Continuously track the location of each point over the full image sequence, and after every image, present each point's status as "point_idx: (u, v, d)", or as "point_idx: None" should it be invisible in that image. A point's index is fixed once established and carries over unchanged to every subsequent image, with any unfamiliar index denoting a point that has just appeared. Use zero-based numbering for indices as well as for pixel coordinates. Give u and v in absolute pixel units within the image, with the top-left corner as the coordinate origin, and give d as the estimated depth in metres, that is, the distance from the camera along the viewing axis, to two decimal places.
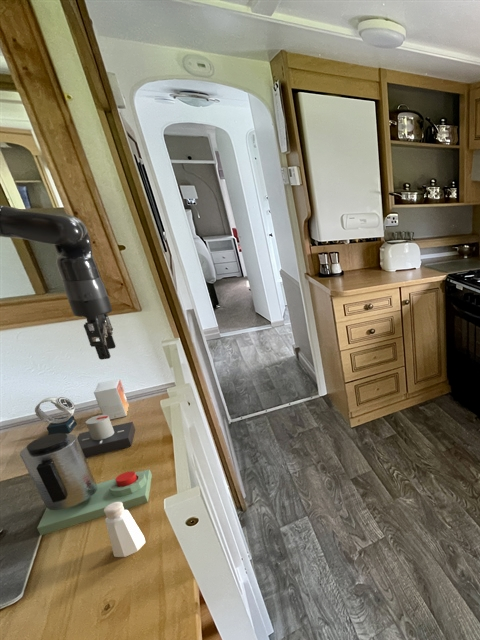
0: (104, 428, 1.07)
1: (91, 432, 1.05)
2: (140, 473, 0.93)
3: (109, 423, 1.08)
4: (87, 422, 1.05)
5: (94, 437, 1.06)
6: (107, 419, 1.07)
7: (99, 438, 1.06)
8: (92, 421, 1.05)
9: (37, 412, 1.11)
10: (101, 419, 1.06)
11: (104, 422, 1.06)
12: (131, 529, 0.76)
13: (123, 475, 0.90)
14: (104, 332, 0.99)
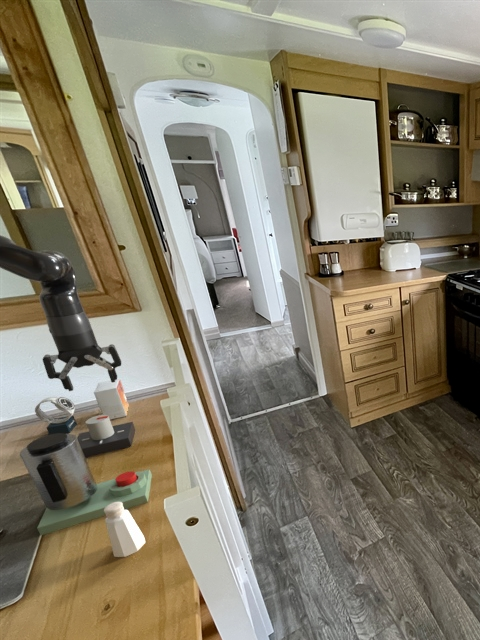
0: (104, 428, 1.07)
1: (91, 432, 1.05)
2: (140, 473, 0.93)
3: (109, 423, 1.08)
4: (87, 422, 1.05)
5: (94, 437, 1.06)
6: (107, 419, 1.07)
7: (99, 438, 1.06)
8: (92, 421, 1.05)
9: (37, 412, 1.11)
10: (101, 419, 1.06)
11: (104, 422, 1.06)
12: (131, 529, 0.76)
13: (123, 475, 0.90)
14: (64, 367, 0.98)
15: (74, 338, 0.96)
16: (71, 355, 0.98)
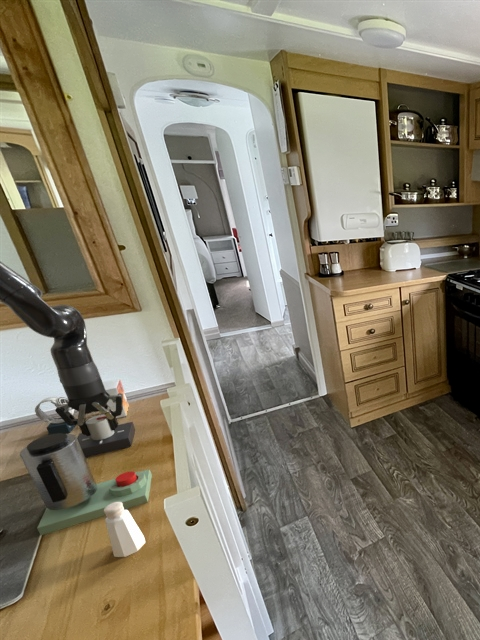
0: (104, 428, 1.07)
1: (91, 432, 1.05)
2: (140, 473, 0.93)
3: (109, 423, 1.08)
4: (87, 422, 1.05)
5: (94, 437, 1.06)
6: (107, 419, 1.07)
7: (99, 438, 1.06)
8: (92, 421, 1.05)
9: (37, 412, 1.11)
10: (101, 419, 1.06)
11: (104, 422, 1.06)
12: (131, 529, 0.76)
13: (123, 475, 0.90)
14: (78, 415, 1.03)
15: (81, 388, 1.00)
16: (80, 402, 1.03)
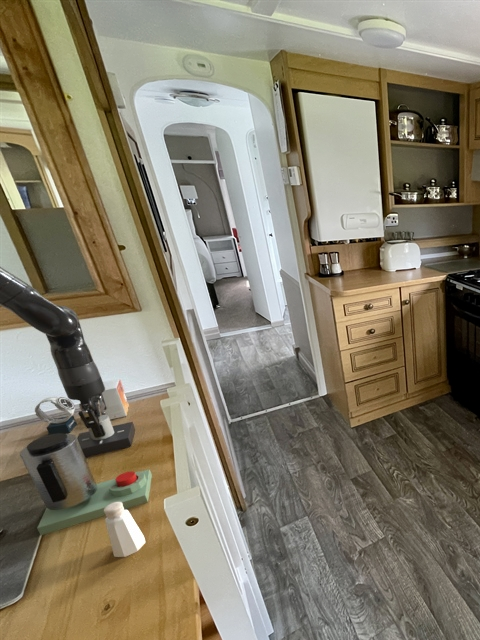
0: None
1: (107, 428, 1.07)
2: (140, 473, 0.93)
3: None
4: None
5: (110, 432, 1.08)
6: None
7: (113, 431, 1.10)
8: (101, 419, 1.06)
9: (37, 412, 1.11)
10: (101, 416, 1.08)
11: None
12: (131, 529, 0.76)
13: (123, 475, 0.90)
14: (98, 413, 1.04)
15: (101, 379, 1.05)
16: (94, 400, 1.04)
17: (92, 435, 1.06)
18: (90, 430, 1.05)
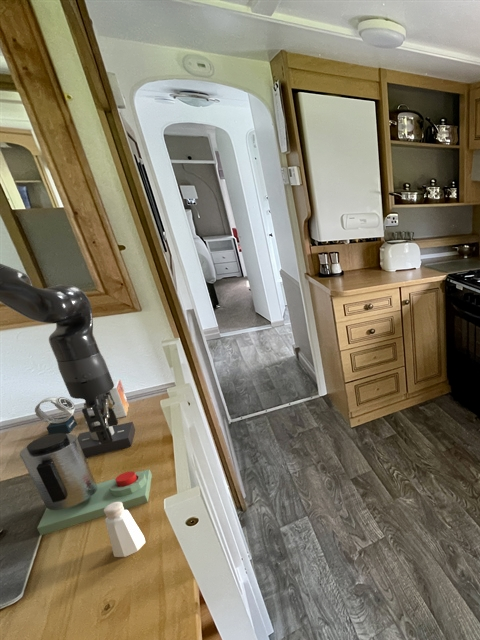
0: None
1: None
2: (140, 473, 0.93)
3: None
4: None
5: None
6: None
7: (113, 431, 1.10)
8: None
9: (37, 412, 1.11)
10: None
11: None
12: (131, 529, 0.76)
13: (123, 475, 0.90)
14: (105, 413, 0.87)
15: (109, 374, 0.88)
16: (101, 399, 0.87)
17: (92, 435, 1.06)
18: None
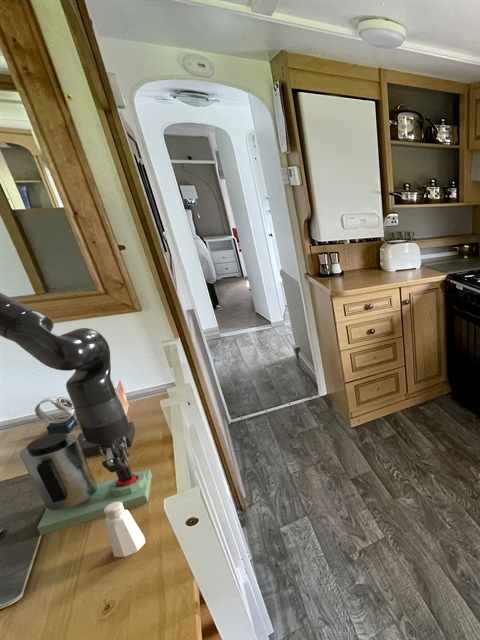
0: None
1: None
2: (140, 473, 0.93)
3: None
4: None
5: None
6: None
7: None
8: None
9: (37, 412, 1.11)
10: None
11: None
12: (131, 529, 0.76)
13: None
14: (124, 456, 0.87)
15: None
16: (117, 443, 0.86)
17: None
18: None
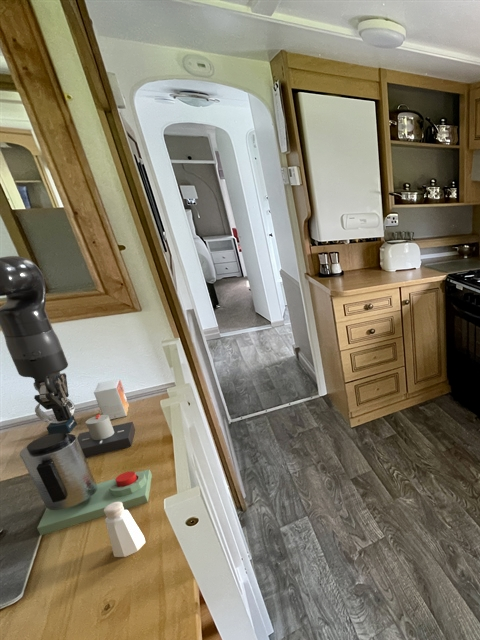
0: None
1: (107, 428, 1.07)
2: (140, 473, 0.93)
3: None
4: (100, 421, 1.06)
5: (110, 433, 1.08)
6: None
7: (113, 431, 1.10)
8: (100, 419, 1.06)
9: (37, 412, 1.11)
10: (101, 416, 1.08)
11: None
12: (131, 529, 0.76)
13: (123, 475, 0.90)
14: (60, 394, 0.85)
15: (63, 353, 0.84)
16: (53, 379, 0.83)
17: (92, 435, 1.06)
18: (90, 430, 1.05)
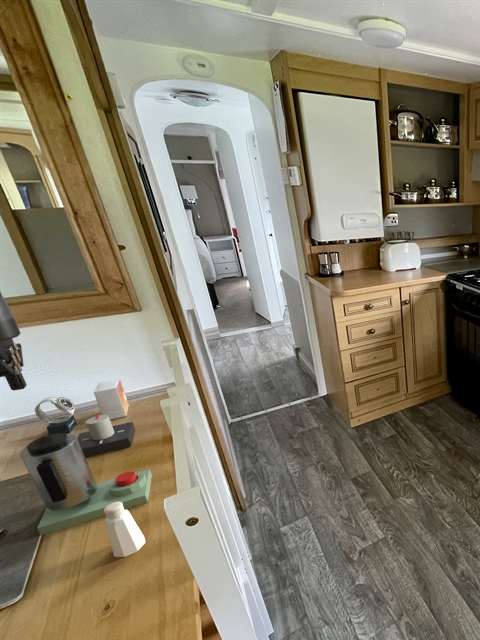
0: None
1: (107, 428, 1.07)
2: (140, 473, 0.93)
3: None
4: (100, 421, 1.06)
5: (110, 433, 1.08)
6: None
7: (113, 431, 1.10)
8: (100, 419, 1.06)
9: (37, 412, 1.11)
10: (101, 416, 1.08)
11: None
12: (131, 529, 0.76)
13: (123, 475, 0.90)
14: (13, 362, 0.86)
15: (15, 321, 0.85)
16: (4, 347, 0.84)
17: (92, 435, 1.06)
18: (90, 430, 1.05)
